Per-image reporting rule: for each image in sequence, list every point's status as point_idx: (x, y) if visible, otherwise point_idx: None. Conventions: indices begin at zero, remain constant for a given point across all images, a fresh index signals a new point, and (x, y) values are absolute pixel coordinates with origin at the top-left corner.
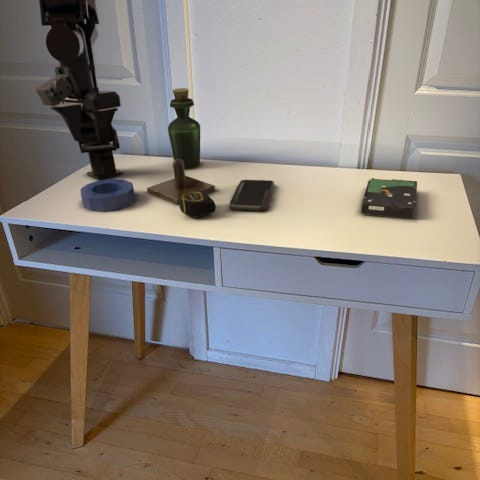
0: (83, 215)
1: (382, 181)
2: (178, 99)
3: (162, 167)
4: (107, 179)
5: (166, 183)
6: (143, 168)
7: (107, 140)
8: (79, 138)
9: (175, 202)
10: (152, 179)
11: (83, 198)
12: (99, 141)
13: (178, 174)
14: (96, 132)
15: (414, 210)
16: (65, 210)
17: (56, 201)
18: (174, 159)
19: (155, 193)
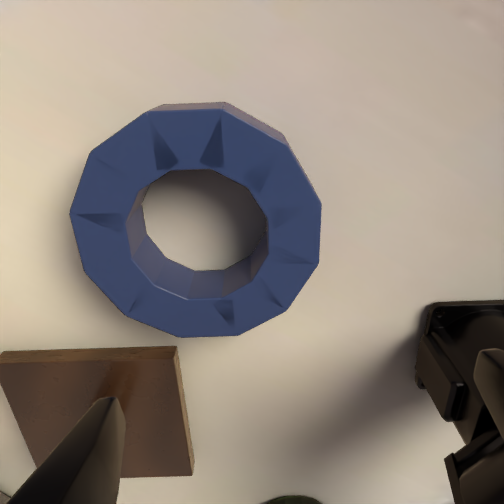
0: (133, 46)
1: None
2: None
3: (345, 476)
4: (295, 293)
5: (161, 414)
6: (392, 443)
7: (464, 488)
8: (481, 388)
9: (12, 354)
10: (278, 412)
11: (204, 107)
12: (86, 421)
13: None
14: (50, 500)
15: None
16: (255, 10)
17: (398, 38)
18: None
19: (123, 353)
